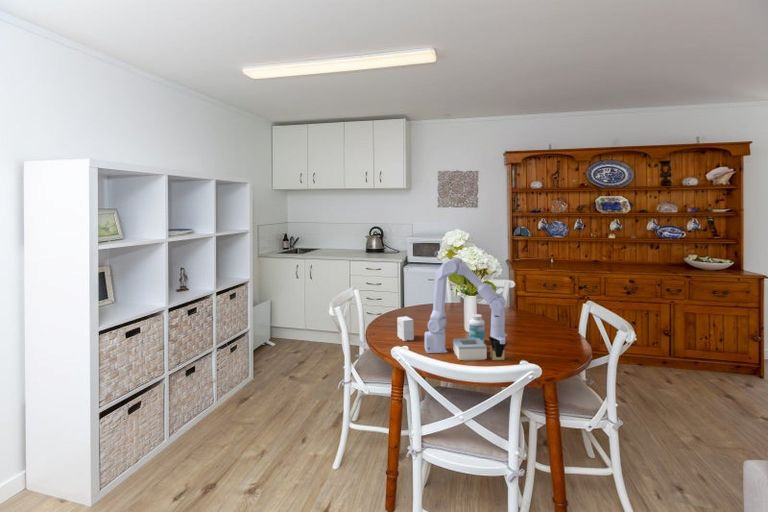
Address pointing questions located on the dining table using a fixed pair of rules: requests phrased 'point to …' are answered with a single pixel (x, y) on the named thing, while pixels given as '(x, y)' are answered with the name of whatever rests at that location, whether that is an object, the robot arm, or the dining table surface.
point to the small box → (405, 328)
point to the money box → (469, 349)
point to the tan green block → (493, 354)
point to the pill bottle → (477, 327)
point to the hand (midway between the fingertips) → (497, 355)
